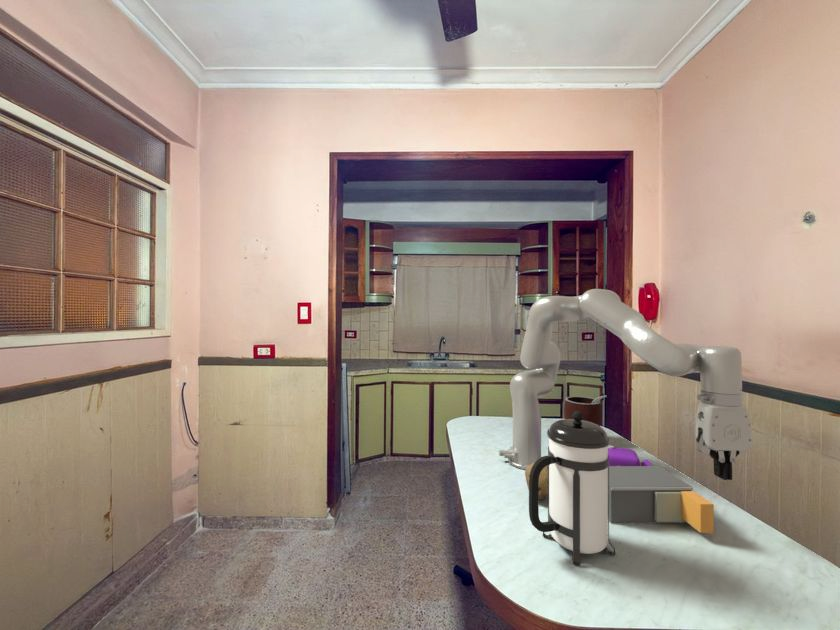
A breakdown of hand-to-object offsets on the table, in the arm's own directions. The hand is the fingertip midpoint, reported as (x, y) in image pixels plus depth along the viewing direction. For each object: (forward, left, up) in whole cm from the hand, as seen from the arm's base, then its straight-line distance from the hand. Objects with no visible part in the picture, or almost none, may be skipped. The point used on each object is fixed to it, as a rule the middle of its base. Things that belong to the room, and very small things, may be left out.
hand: (723, 477), depth 84 cm
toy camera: (-8, +26, -14) cm, 30 cm away
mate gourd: (-5, +60, -14) cm, 61 cm away
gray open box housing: (-15, +10, -13) cm, 23 cm away
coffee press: (-37, -4, -14) cm, 40 cm away
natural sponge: (-37, +17, -14) cm, 43 cm away
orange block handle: (-9, +1, -12) cm, 15 cm away
